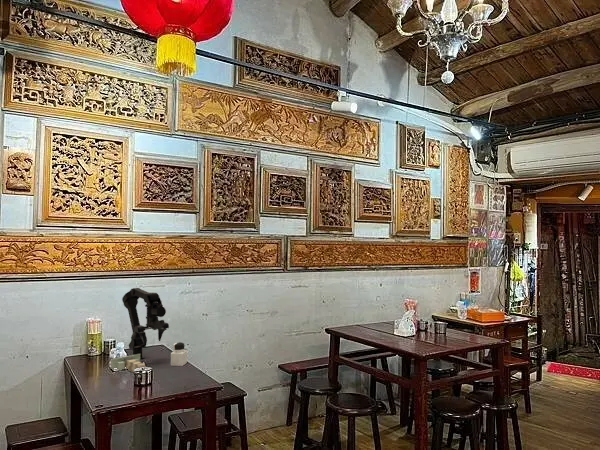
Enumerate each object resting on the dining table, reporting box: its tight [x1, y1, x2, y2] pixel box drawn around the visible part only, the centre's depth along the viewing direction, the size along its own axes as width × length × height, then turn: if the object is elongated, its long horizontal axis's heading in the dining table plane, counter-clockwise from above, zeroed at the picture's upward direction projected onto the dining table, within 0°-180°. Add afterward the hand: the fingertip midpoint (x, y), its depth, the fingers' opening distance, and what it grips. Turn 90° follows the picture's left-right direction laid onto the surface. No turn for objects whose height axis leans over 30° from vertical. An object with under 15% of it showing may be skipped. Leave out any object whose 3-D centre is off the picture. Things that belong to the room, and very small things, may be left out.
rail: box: [124, 358, 146, 373], centre depth 261 cm, size 18×4×5 cm, turn 43°
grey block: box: [110, 354, 141, 371], centre depth 268 cm, size 6×16×6 cm, turn 133°
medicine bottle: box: [170, 342, 188, 367], centre depth 274 cm, size 7×7×12 cm
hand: (151, 342), depth 278 cm, fingers open, 9 cm apart
